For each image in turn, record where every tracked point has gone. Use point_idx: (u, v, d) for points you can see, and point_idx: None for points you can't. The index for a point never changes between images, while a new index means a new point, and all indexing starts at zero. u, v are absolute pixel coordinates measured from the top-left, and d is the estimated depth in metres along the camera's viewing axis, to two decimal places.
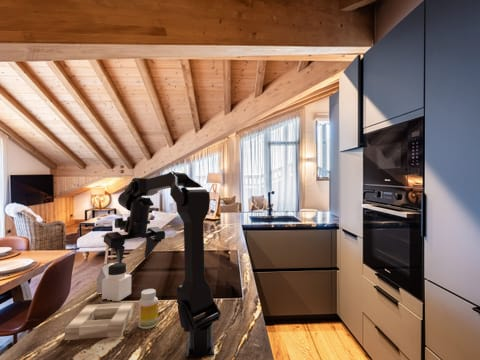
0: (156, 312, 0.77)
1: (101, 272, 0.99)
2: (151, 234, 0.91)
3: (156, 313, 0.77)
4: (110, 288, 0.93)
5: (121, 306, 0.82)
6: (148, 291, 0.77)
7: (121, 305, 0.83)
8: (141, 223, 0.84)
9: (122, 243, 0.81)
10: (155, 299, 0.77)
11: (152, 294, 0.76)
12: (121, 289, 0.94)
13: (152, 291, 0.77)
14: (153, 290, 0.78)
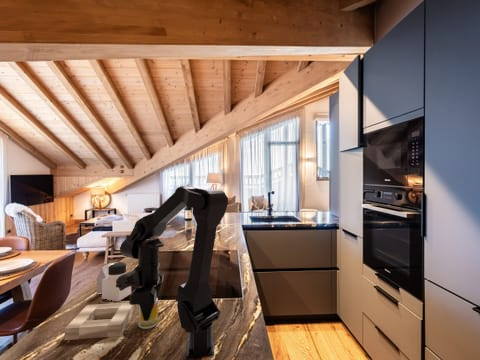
0: (156, 312, 0.77)
1: (101, 272, 0.99)
2: None
3: (156, 313, 0.77)
4: (110, 288, 0.93)
5: (121, 306, 0.82)
6: None
7: (121, 305, 0.83)
8: (158, 267, 0.78)
9: (156, 294, 0.72)
10: None
11: None
12: None
13: None
14: None
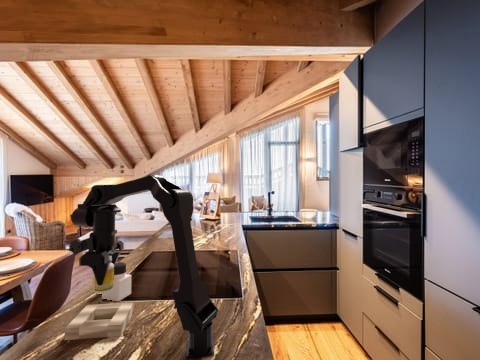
0: (111, 278, 0.77)
1: None
2: None
3: (111, 278, 0.77)
4: None
5: (121, 306, 0.82)
6: None
7: (121, 305, 0.83)
8: (114, 233, 0.78)
9: (108, 257, 0.72)
10: (110, 265, 0.77)
11: None
12: (121, 289, 0.94)
13: None
14: (109, 256, 0.78)
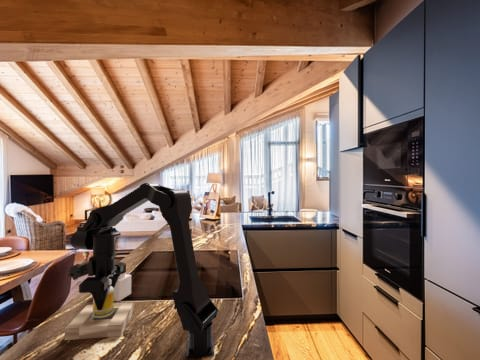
0: (111, 301, 0.77)
1: None
2: None
3: (111, 302, 0.77)
4: None
5: (121, 306, 0.82)
6: None
7: (121, 305, 0.83)
8: (113, 256, 0.78)
9: (107, 283, 0.72)
10: (110, 288, 0.77)
11: None
12: (121, 289, 0.94)
13: None
14: (109, 280, 0.78)
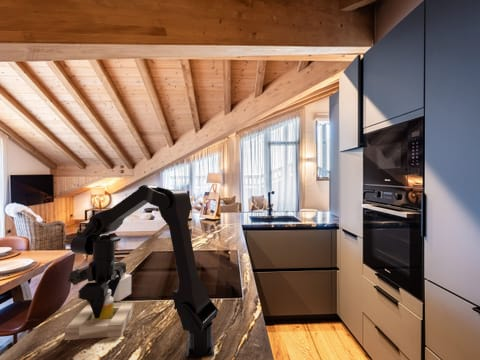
0: (111, 312, 0.77)
1: None
2: None
3: (111, 313, 0.77)
4: None
5: (121, 306, 0.82)
6: None
7: (121, 305, 0.83)
8: (113, 261, 0.78)
9: (107, 288, 0.72)
10: (110, 299, 0.77)
11: None
12: (121, 289, 0.94)
13: None
14: (108, 290, 0.78)
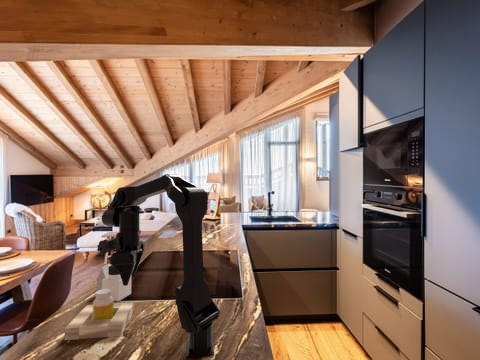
0: (111, 312, 0.77)
1: (101, 272, 0.99)
2: None
3: (111, 313, 0.77)
4: (110, 288, 0.93)
5: (121, 306, 0.82)
6: (103, 291, 0.77)
7: (121, 305, 0.83)
8: (138, 233, 0.81)
9: (135, 256, 0.76)
10: (110, 299, 0.77)
11: (106, 294, 0.76)
12: (121, 289, 0.94)
13: (107, 291, 0.77)
14: (108, 290, 0.78)
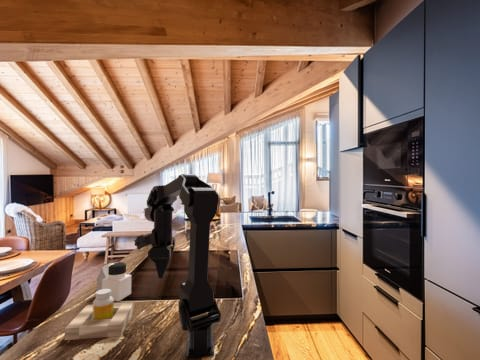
0: (111, 312, 0.77)
1: (101, 272, 0.99)
2: None
3: (111, 313, 0.77)
4: (110, 288, 0.93)
5: (121, 306, 0.82)
6: (103, 291, 0.77)
7: (121, 305, 0.83)
8: (172, 229, 0.86)
9: (170, 251, 0.80)
10: (110, 299, 0.77)
11: (106, 294, 0.76)
12: (121, 289, 0.94)
13: (107, 291, 0.77)
14: (108, 290, 0.78)
